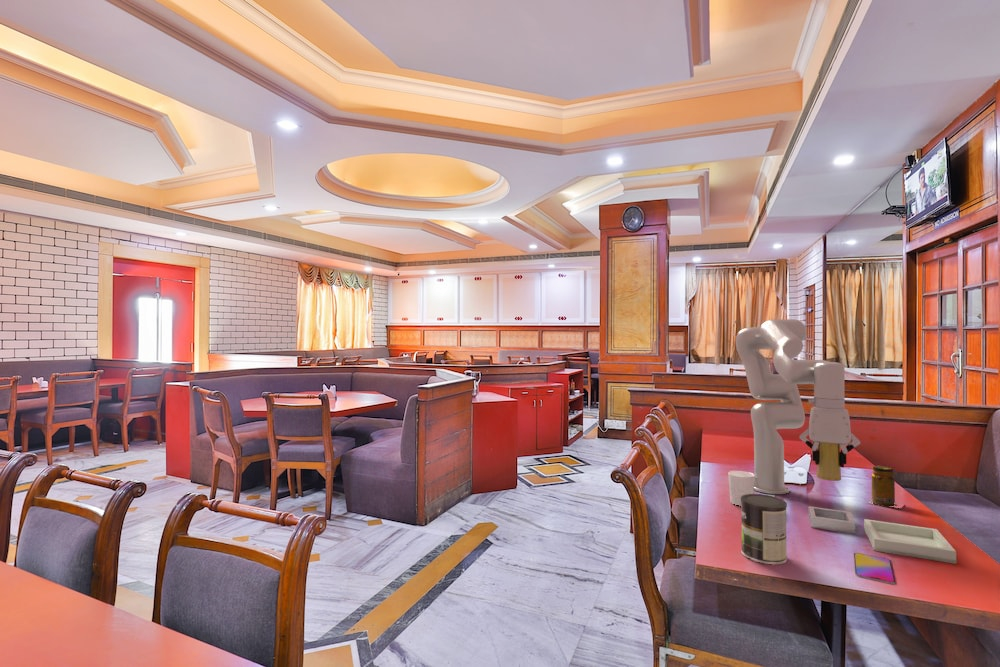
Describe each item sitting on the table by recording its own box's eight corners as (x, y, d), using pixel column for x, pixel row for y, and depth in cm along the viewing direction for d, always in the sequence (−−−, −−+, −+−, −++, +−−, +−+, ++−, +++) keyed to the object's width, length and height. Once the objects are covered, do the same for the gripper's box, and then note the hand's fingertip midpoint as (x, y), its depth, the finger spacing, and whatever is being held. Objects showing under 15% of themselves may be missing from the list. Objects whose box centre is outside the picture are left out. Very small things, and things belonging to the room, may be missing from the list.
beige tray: (874, 550, 127) (874, 538, 127) (864, 529, 141) (864, 519, 141) (956, 563, 120) (956, 551, 120) (936, 540, 134) (936, 529, 134)
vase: (833, 482, 142) (833, 432, 142) (812, 476, 147) (812, 429, 147) (845, 479, 145) (845, 430, 145) (824, 473, 150) (824, 427, 150)
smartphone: (890, 559, 122) (896, 583, 110) (890, 561, 122) (896, 586, 110) (853, 552, 126) (855, 574, 114) (853, 554, 126) (855, 577, 114)
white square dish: (811, 527, 143) (811, 516, 143) (808, 516, 152) (808, 506, 152) (855, 534, 138) (854, 523, 138) (849, 521, 147) (849, 511, 147)
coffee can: (739, 559, 123) (739, 502, 123) (742, 544, 132) (742, 491, 132) (787, 568, 118) (786, 509, 118) (787, 552, 126) (787, 497, 127)
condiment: (874, 499, 169) (873, 463, 169) (905, 505, 162) (905, 468, 162) (867, 503, 164) (867, 467, 164) (899, 510, 157) (899, 472, 157)
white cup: (729, 506, 162) (728, 475, 162) (727, 499, 169) (727, 469, 169) (756, 509, 159) (755, 478, 159) (753, 501, 166) (753, 471, 166)
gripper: (795, 403, 147) (795, 464, 147) (867, 407, 138) (867, 472, 139) (794, 400, 153) (794, 458, 153) (862, 404, 145) (862, 465, 145)
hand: (829, 464), depth 146 cm, fingers closed on vase, 5 cm apart
